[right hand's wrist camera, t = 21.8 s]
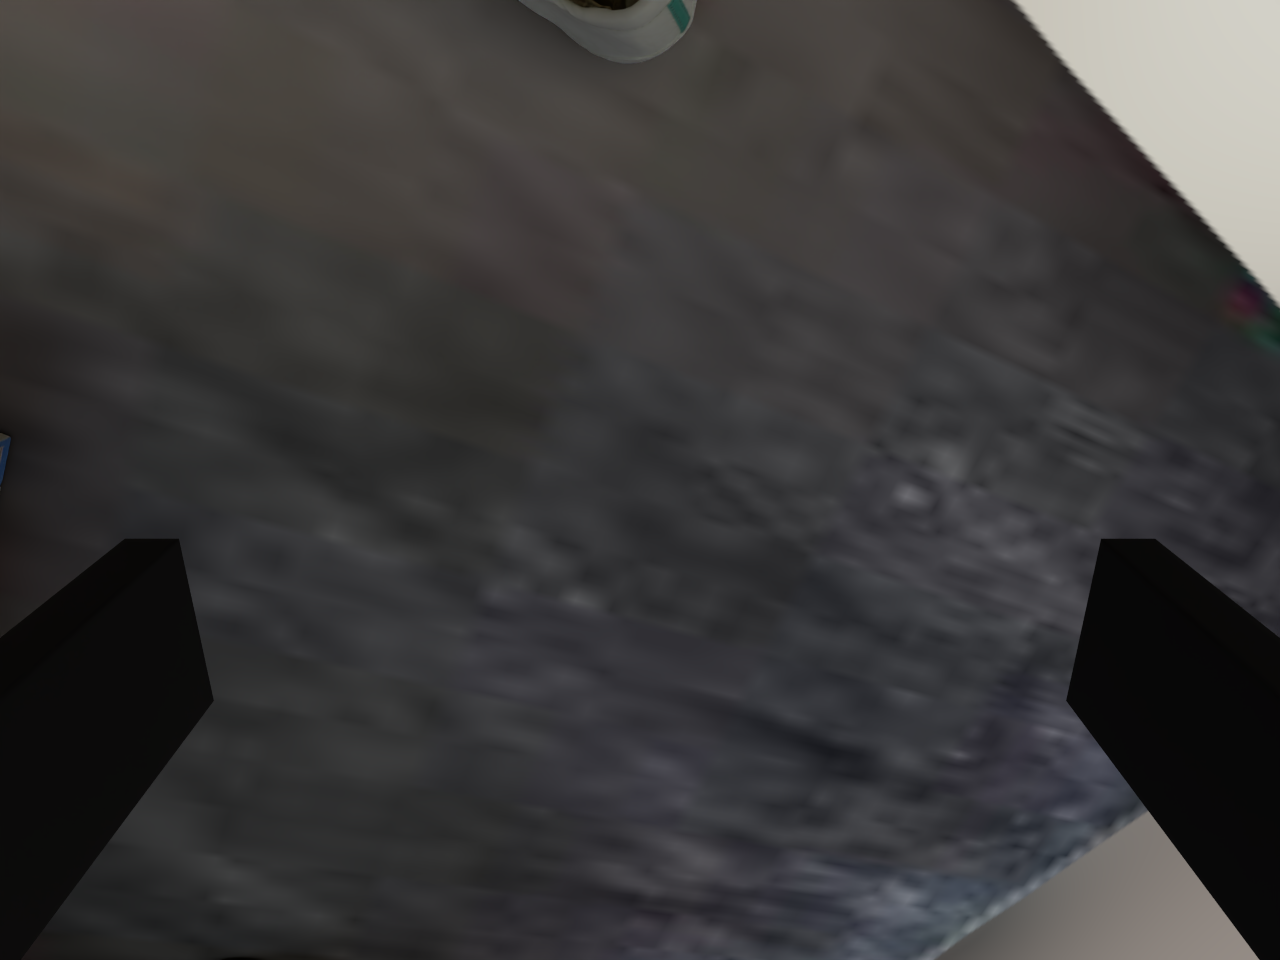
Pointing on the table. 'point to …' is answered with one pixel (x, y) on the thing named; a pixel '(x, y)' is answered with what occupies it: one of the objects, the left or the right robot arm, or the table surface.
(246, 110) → the table surface
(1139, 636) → the right robot arm
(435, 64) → the table surface
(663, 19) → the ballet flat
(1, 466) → the stack of blocks
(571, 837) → the table surface
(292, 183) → the table surface
